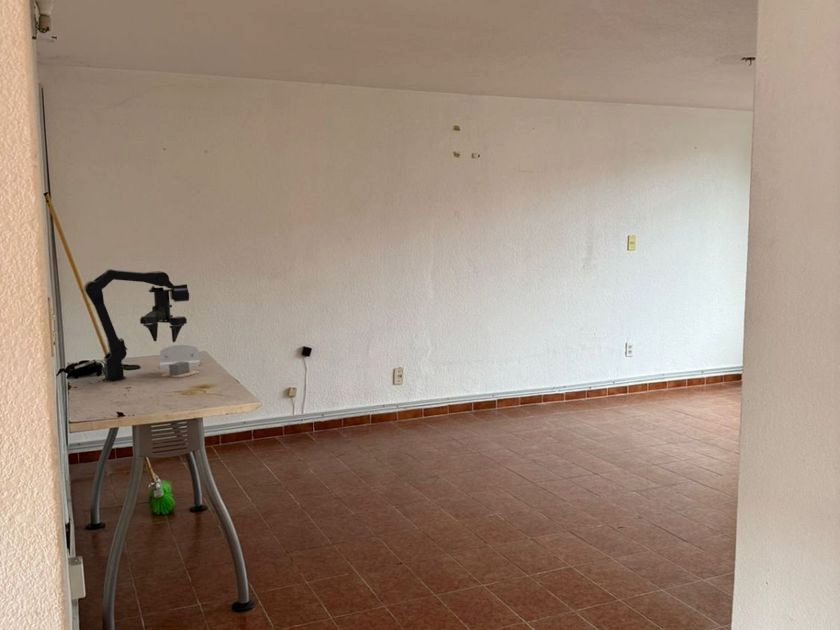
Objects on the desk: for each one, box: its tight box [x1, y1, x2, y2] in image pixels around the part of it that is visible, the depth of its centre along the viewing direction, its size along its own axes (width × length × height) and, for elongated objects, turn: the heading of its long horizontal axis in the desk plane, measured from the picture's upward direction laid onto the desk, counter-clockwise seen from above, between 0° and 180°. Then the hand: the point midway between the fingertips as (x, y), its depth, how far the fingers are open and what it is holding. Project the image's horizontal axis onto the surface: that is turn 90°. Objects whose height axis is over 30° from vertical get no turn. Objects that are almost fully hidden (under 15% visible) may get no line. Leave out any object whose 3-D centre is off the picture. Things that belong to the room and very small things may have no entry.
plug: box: [168, 361, 191, 375], centre depth 318 cm, size 4×9×4 cm
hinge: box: [158, 344, 201, 370], centre depth 335 cm, size 17×5×10 cm, turn 106°
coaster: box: [161, 370, 200, 379], centre depth 318 cm, size 10×10×1 cm
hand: (164, 341), depth 319 cm, fingers open, 9 cm apart
